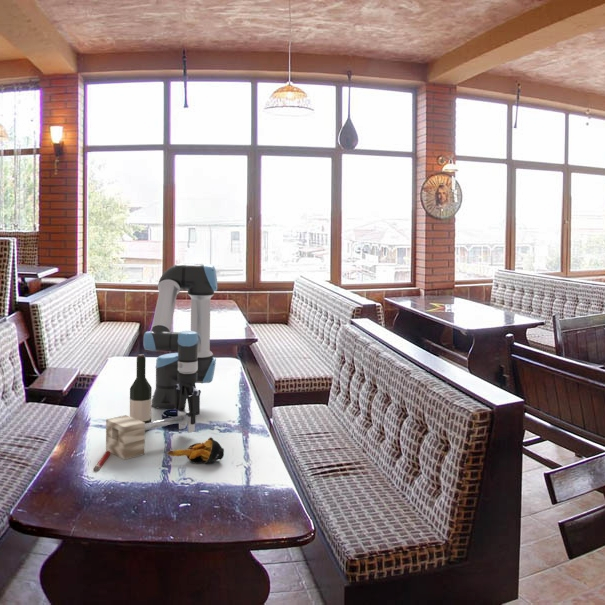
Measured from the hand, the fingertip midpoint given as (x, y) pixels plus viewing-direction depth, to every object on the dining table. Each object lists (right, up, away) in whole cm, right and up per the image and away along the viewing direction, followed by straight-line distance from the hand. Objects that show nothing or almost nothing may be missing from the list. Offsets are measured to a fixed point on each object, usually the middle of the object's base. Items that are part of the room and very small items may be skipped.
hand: (186, 430), depth 241 cm
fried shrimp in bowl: (+8, -6, -26) cm, 28 cm away
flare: (-23, -5, -30) cm, 38 cm away
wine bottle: (-20, -1, +7) cm, 21 cm away
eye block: (-18, -4, -20) cm, 27 cm away
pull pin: (-7, +2, -8) cm, 11 cm away
